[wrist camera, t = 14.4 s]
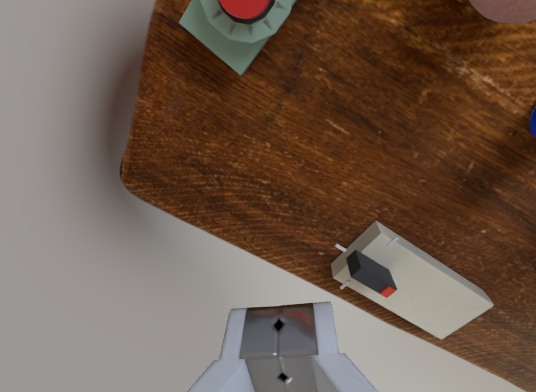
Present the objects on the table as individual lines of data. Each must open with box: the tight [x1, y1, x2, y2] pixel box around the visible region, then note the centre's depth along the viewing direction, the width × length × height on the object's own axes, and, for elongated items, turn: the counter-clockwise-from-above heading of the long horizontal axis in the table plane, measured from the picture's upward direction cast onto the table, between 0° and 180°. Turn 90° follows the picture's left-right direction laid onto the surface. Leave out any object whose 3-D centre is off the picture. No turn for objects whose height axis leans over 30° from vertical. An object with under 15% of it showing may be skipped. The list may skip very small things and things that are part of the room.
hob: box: [331, 221, 494, 340], centre depth 37 cm, size 21×9×3 cm, turn 57°
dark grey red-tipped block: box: [346, 249, 397, 298], centre depth 33 cm, size 5×2×3 cm, turn 57°
